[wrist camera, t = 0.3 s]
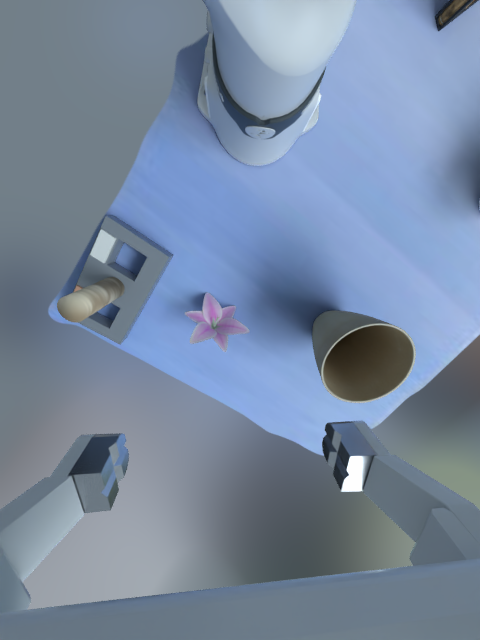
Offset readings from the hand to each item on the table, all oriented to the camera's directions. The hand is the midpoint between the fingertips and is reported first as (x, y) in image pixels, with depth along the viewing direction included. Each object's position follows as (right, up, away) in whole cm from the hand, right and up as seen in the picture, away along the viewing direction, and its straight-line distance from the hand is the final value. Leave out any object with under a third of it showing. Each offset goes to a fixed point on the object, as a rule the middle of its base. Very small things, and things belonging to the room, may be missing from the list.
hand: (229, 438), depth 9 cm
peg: (-24, +11, +34) cm, 43 cm away
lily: (-4, +6, +40) cm, 41 cm away
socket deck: (-24, +12, +37) cm, 45 cm away
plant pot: (+20, +4, +41) cm, 46 cm away
